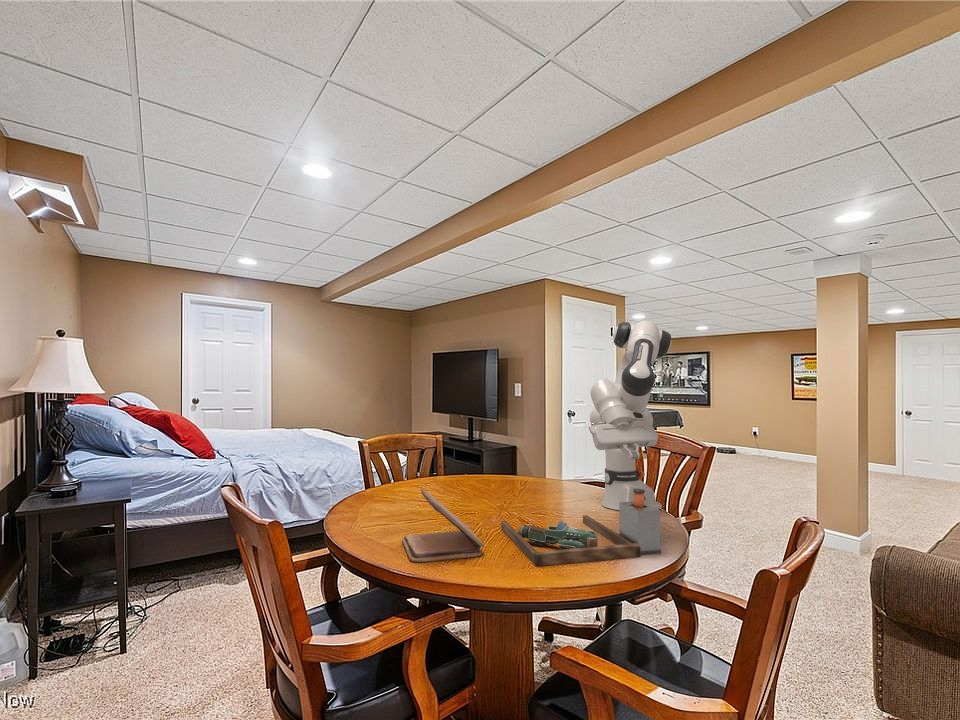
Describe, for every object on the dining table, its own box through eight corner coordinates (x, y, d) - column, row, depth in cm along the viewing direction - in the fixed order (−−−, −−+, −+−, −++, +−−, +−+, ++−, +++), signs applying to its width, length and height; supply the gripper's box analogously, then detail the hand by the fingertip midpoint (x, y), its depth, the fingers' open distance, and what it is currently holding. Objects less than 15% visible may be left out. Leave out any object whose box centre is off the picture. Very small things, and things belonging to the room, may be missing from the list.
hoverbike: (594, 561, 129) (594, 530, 130) (510, 545, 142) (510, 517, 142) (603, 550, 138) (603, 521, 138) (523, 536, 150) (523, 509, 150)
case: (486, 557, 132) (487, 498, 133) (410, 565, 126) (411, 503, 127) (467, 535, 152) (468, 483, 153) (400, 540, 146) (401, 487, 147)
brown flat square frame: (586, 522, 164) (586, 513, 165) (640, 556, 133) (640, 545, 133) (501, 528, 157) (501, 519, 157) (536, 566, 126) (536, 554, 126)
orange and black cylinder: (640, 514, 142) (640, 488, 143) (647, 517, 139) (646, 490, 140) (631, 514, 142) (631, 488, 142) (637, 518, 139) (637, 491, 139)
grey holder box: (640, 541, 146) (640, 500, 146) (660, 552, 136) (660, 509, 137) (619, 542, 144) (618, 502, 145) (638, 554, 134) (637, 511, 135)
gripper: (589, 417, 148) (606, 454, 139) (649, 413, 153) (669, 449, 143) (584, 429, 153) (599, 466, 143) (641, 426, 157) (660, 461, 148)
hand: (634, 458), depth 143 cm, fingers closed
